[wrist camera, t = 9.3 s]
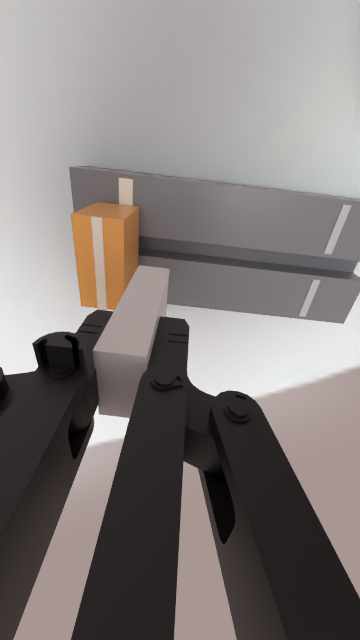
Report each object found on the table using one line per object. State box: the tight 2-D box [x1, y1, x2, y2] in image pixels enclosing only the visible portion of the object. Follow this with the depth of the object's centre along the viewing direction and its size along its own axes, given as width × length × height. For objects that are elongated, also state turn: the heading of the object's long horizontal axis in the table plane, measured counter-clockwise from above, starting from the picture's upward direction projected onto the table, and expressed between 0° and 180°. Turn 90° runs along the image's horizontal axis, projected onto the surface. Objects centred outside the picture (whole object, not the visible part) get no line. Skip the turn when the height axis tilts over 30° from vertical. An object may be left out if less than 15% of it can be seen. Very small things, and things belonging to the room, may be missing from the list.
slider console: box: [69, 166, 360, 323], centre depth 22 cm, size 10×24×3 cm, turn 84°
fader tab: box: [71, 202, 139, 310], centre depth 19 cm, size 6×3×7 cm, turn 174°
